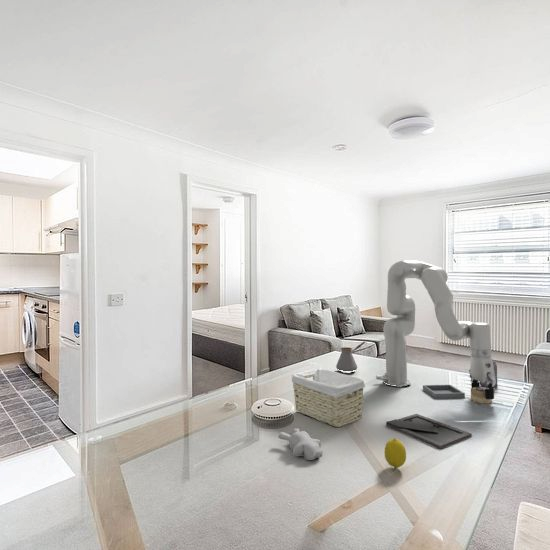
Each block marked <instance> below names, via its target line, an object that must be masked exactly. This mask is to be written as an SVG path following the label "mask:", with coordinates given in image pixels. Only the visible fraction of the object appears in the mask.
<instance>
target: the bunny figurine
mask: <svg viewBox="0 0 550 550" xmlns="http://www.w3.org/2000/svg"><path fill="white" fill-rule="evenodd" d="M292 432H293V433H292V434H289V433H287V432H283V431H280V432H279V433H278V435H277V438H278V439H280V440H284V441H288V444H289V447H290V450H291V451H292V455H293V456H294V457H302V458H303V459H304V460H305V461H313V460H315V459H320V458H322V457H323V451H322V450H321V444H322V442H321V440H320V439H316V438H311V436H310V435H309V433H308V432H306V431H305V430H303V431H300V429H299V428H297V427H296V428H293V429H292Z"/></svg>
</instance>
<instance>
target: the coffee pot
mask: <svg viewBox="0 0 550 550" xmlns="http://www.w3.org/2000/svg"><path fill="white" fill-rule="evenodd" d="M367 344H368V343H367V342H366V341H363V342H361V343H360V344H359V345H357V346H356V347H355V348H354V349H353V348H352V347H345V346H344V347H340V351H341V352H340V354H339V355H340V356H339V359H338V361H337V362H336V365H335V367H336V369H337V370H338V369H339V370H343V371H353V370H356V371H357V369H358V364H357V363H356V360H355V358H354V356H353V353H354V352H355V351H356V350H358V349H359V348H361V347H362V346H363V345H367ZM339 370H338V371H339Z"/></svg>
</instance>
